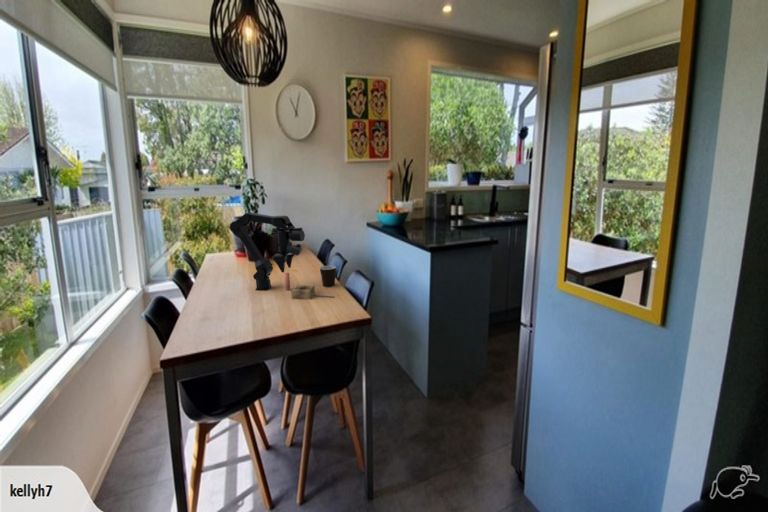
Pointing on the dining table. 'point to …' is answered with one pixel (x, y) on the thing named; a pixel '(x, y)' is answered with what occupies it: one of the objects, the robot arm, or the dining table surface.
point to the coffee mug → (328, 275)
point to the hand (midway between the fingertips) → (286, 269)
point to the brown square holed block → (303, 292)
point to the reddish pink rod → (287, 281)
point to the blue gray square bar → (324, 296)
